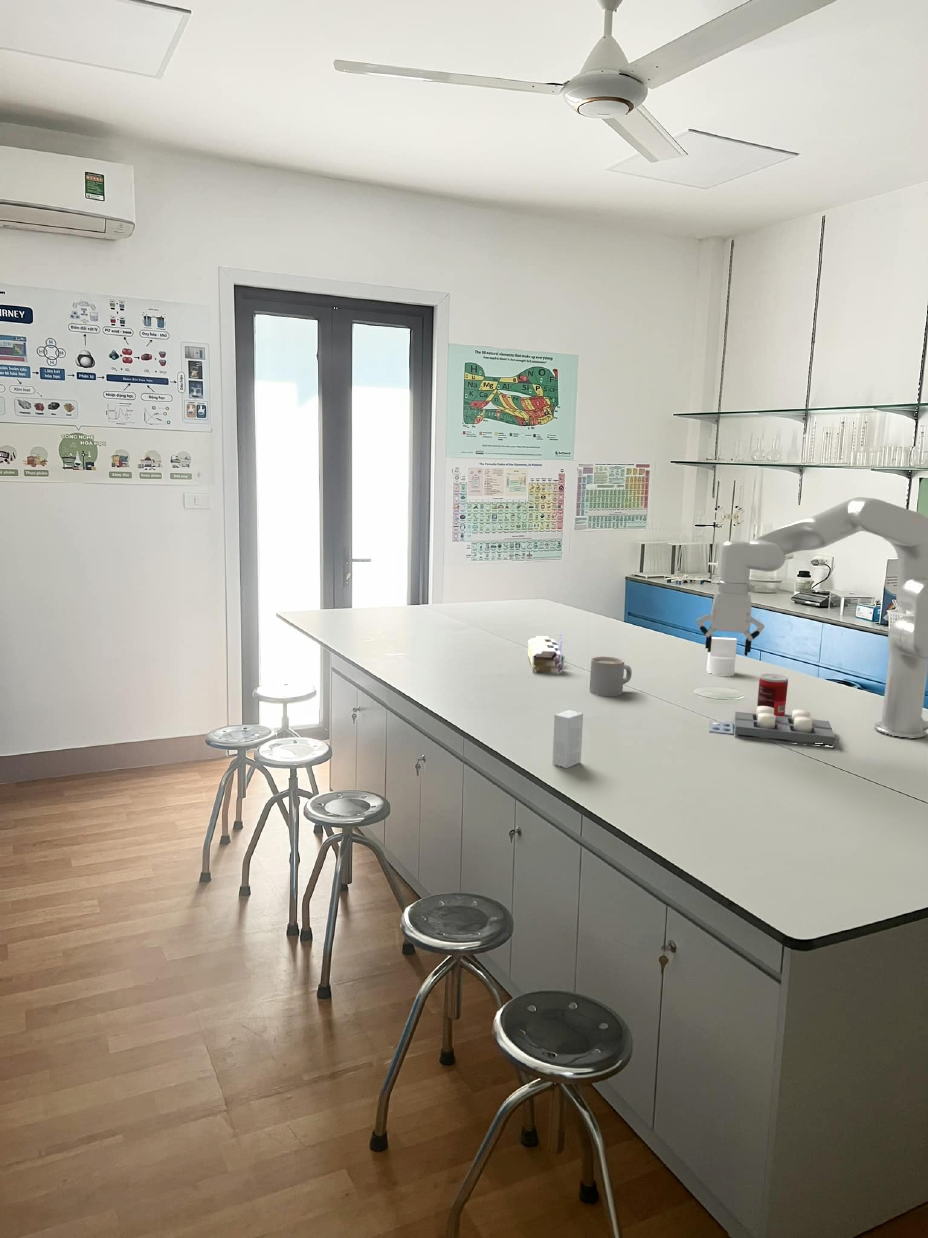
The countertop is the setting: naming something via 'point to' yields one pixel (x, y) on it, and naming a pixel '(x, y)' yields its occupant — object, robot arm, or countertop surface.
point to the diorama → (545, 650)
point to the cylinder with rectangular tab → (722, 656)
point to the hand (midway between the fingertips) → (727, 653)
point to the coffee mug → (608, 676)
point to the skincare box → (567, 738)
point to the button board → (776, 730)
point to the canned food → (773, 692)
